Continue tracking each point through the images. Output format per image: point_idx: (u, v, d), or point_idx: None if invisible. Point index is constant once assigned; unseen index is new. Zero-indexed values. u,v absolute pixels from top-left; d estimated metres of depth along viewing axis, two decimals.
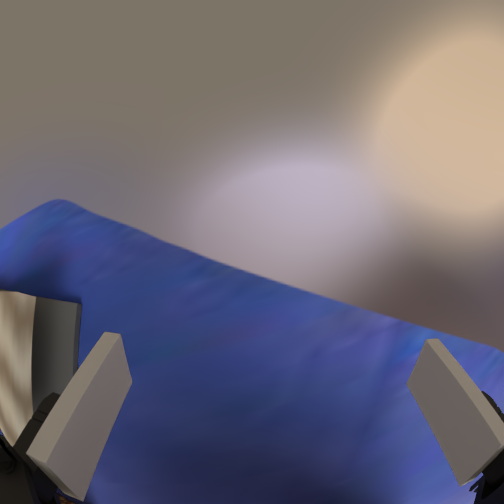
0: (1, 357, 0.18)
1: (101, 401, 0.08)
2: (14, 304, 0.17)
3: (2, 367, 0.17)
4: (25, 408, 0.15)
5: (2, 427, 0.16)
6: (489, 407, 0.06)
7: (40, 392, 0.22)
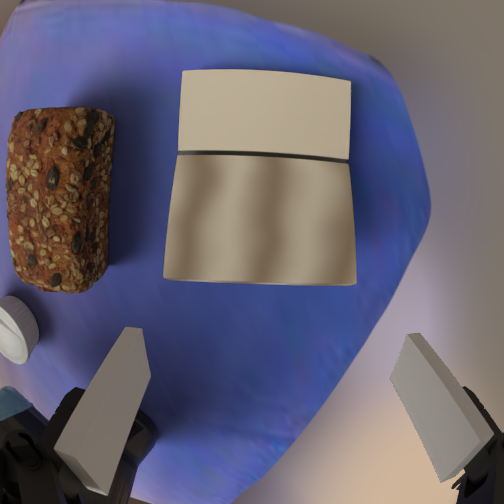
0: (279, 221, 0.24)
1: (125, 394, 0.09)
2: (344, 279, 0.23)
3: (269, 229, 0.24)
4: (235, 282, 0.24)
5: (180, 194, 0.24)
6: (469, 402, 0.07)
7: None
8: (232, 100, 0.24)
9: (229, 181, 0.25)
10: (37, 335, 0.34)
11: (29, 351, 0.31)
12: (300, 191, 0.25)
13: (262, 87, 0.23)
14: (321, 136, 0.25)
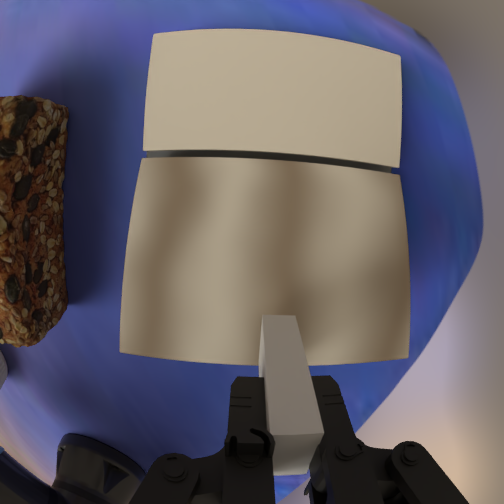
0: (301, 268, 0.15)
1: None
2: (393, 353, 0.14)
3: (284, 281, 0.15)
4: None
5: (143, 222, 0.15)
6: (313, 391, 0.08)
7: None
8: (226, 72, 0.14)
9: (220, 200, 0.15)
10: (5, 370, 0.25)
11: None
12: (333, 217, 0.15)
13: (273, 54, 0.14)
14: (362, 131, 0.15)
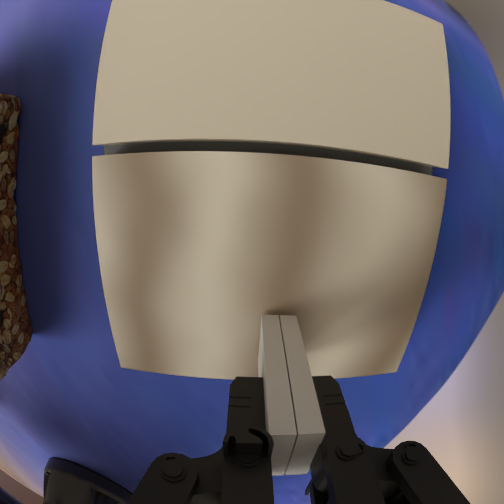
0: (302, 300, 0.13)
1: None
2: (382, 369, 0.14)
3: (281, 313, 0.13)
4: None
5: (112, 246, 0.12)
6: (314, 391, 0.08)
7: None
8: (209, 30, 0.09)
9: (203, 219, 0.11)
10: None
11: None
12: (351, 239, 0.12)
13: (277, 6, 0.08)
14: (403, 116, 0.10)
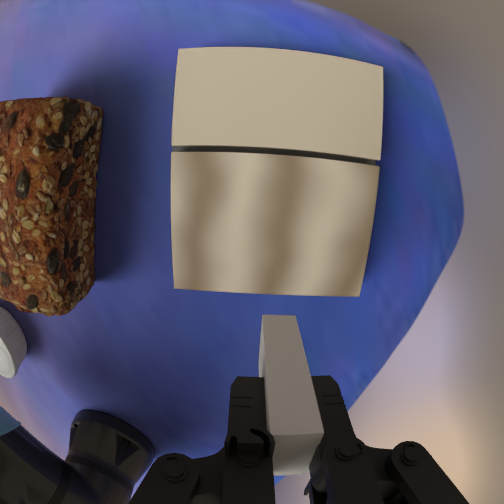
0: (291, 236, 0.22)
1: None
2: (348, 292, 0.24)
3: (279, 244, 0.22)
4: None
5: (181, 204, 0.21)
6: (313, 391, 0.08)
7: None
8: (239, 84, 0.18)
9: (236, 188, 0.21)
10: (25, 348, 0.30)
11: (16, 366, 0.27)
12: (318, 201, 0.21)
13: (277, 69, 0.18)
14: (349, 131, 0.19)
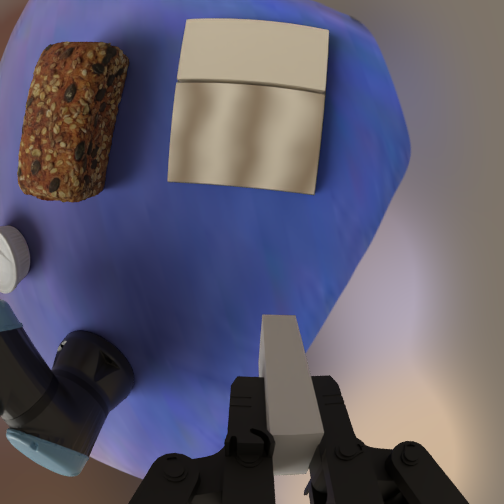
0: (257, 141, 0.29)
1: None
2: (304, 189, 0.30)
3: (248, 146, 0.29)
4: None
5: (179, 117, 0.28)
6: (313, 391, 0.08)
7: None
8: (225, 41, 0.25)
9: (219, 106, 0.27)
10: (28, 264, 0.36)
11: (17, 277, 0.33)
12: (277, 116, 0.28)
13: (251, 32, 0.24)
14: (300, 70, 0.26)
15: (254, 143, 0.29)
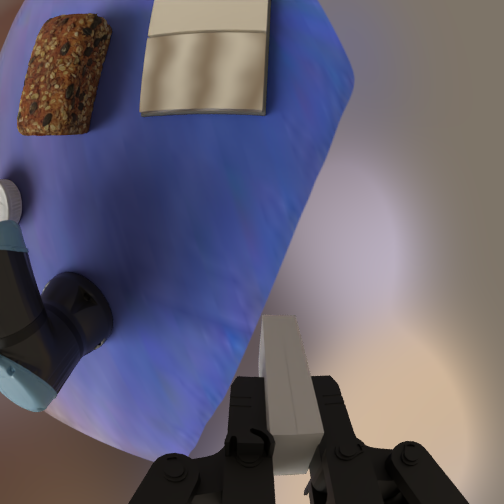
0: (211, 72, 0.31)
1: None
2: (253, 106, 0.32)
3: (204, 77, 0.31)
4: (184, 110, 0.34)
5: (149, 62, 0.30)
6: (313, 391, 0.08)
7: None
8: (185, 5, 0.27)
9: (180, 51, 0.30)
10: (19, 211, 0.38)
11: None
12: (227, 52, 0.30)
13: None
14: (245, 18, 0.28)
15: (209, 74, 0.31)
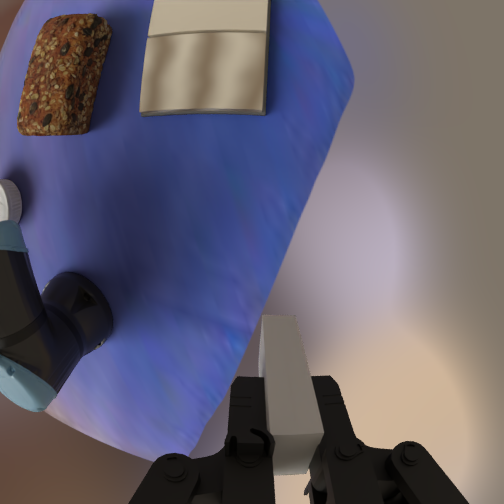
0: (211, 72, 0.31)
1: None
2: (253, 106, 0.32)
3: (204, 77, 0.31)
4: (183, 110, 0.34)
5: (149, 62, 0.30)
6: (313, 391, 0.08)
7: None
8: (185, 5, 0.27)
9: (180, 51, 0.30)
10: (19, 212, 0.38)
11: None
12: (227, 52, 0.30)
13: None
14: (245, 18, 0.28)
15: (209, 74, 0.31)
